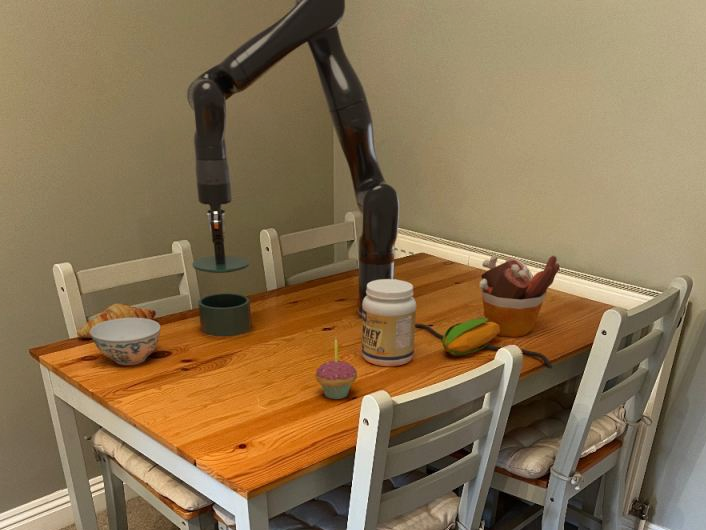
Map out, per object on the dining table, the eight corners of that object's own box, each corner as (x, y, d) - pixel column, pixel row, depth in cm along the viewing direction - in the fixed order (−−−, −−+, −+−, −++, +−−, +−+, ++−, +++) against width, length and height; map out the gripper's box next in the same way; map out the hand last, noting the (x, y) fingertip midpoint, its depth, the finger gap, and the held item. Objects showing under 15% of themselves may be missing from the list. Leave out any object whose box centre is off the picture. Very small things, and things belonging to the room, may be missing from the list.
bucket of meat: (461, 331, 190) (467, 251, 179) (489, 314, 201) (497, 238, 190) (534, 348, 180) (545, 264, 170) (559, 329, 192) (572, 250, 181)
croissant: (88, 357, 180) (89, 333, 174) (66, 329, 183) (66, 304, 176) (163, 334, 193) (167, 311, 186) (141, 309, 195) (144, 285, 189)
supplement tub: (351, 355, 174) (351, 283, 165) (391, 345, 181) (393, 274, 171) (383, 372, 166) (385, 296, 157) (424, 360, 172) (428, 287, 163)
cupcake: (315, 387, 159) (314, 332, 152) (355, 386, 159) (355, 331, 153) (317, 403, 151) (315, 347, 145) (358, 402, 152) (358, 346, 146)
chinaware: (129, 379, 161) (123, 345, 156) (82, 364, 167) (75, 331, 163) (178, 358, 171) (174, 325, 167) (132, 345, 178) (127, 313, 174)
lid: (259, 264, 182) (258, 239, 179) (226, 278, 172) (224, 251, 168) (215, 257, 187) (213, 232, 184) (181, 270, 177) (177, 243, 174)
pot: (261, 327, 190) (259, 298, 186) (231, 341, 181) (229, 311, 177) (221, 319, 195) (219, 290, 191) (191, 333, 186) (188, 303, 182)
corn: (435, 324, 171) (488, 305, 183) (431, 354, 175) (483, 335, 187) (460, 334, 167) (512, 315, 179) (455, 365, 171) (507, 344, 183)
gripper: (229, 185, 164) (236, 265, 173) (230, 175, 175) (236, 250, 184) (195, 185, 163) (203, 266, 172) (197, 175, 174) (205, 251, 183)
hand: (220, 257), depth 178 cm, fingers closed on lid, 2 cm apart
